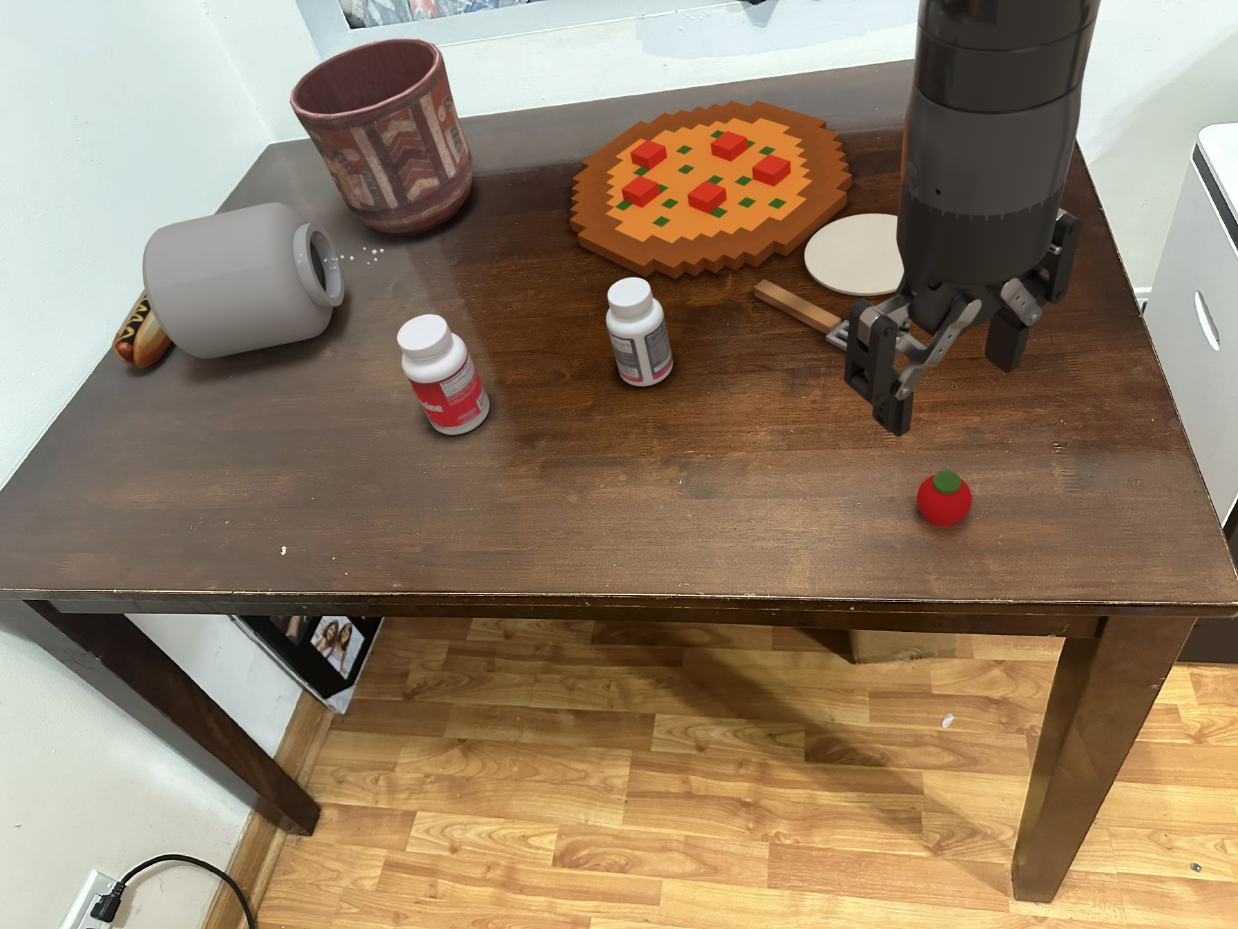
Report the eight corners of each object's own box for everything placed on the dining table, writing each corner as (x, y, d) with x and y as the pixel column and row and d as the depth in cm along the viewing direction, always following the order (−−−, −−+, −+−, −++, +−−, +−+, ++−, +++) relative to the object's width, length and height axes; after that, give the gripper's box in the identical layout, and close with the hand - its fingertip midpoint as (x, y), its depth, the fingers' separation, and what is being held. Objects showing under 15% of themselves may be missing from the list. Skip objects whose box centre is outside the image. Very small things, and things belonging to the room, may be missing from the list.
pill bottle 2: (665, 343, 87) (650, 265, 79) (679, 378, 83) (665, 300, 76) (614, 358, 87) (594, 282, 79) (625, 394, 83) (606, 318, 76)
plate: (859, 202, 95) (859, 199, 95) (962, 245, 88) (962, 241, 88) (778, 263, 91) (778, 260, 91) (878, 313, 84) (878, 310, 83)
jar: (228, 238, 106) (405, 189, 99) (257, 357, 108) (433, 318, 101) (99, 225, 88) (303, 165, 81) (137, 368, 90) (340, 322, 83)
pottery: (420, 267, 103) (359, 128, 89) (328, 233, 112) (259, 101, 98) (514, 185, 111) (471, 46, 97) (421, 159, 119) (369, 28, 106)
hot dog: (206, 299, 107) (184, 266, 104) (165, 375, 99) (138, 343, 95) (171, 303, 108) (147, 271, 104) (126, 379, 100) (99, 347, 96)
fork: (749, 299, 89) (748, 290, 88) (769, 284, 89) (768, 275, 89) (867, 363, 80) (868, 354, 79) (887, 346, 81) (888, 336, 80)
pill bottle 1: (421, 413, 87) (377, 332, 78) (472, 382, 88) (435, 298, 80) (449, 447, 83) (406, 365, 75) (502, 413, 85) (466, 329, 76)
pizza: (719, 313, 88) (716, 290, 86) (522, 217, 106) (515, 195, 103) (902, 155, 99) (904, 131, 97) (696, 92, 117) (693, 71, 115)
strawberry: (936, 485, 70) (941, 451, 67) (979, 512, 68) (986, 478, 65) (904, 515, 69) (907, 482, 66) (947, 543, 67) (953, 511, 63)
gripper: (919, 263, 38) (897, 487, 50) (1160, 132, 41) (1083, 375, 53) (813, 192, 43) (817, 413, 55) (1035, 78, 45) (991, 313, 58)
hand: (947, 394), depth 54 cm, fingers open, 8 cm apart
